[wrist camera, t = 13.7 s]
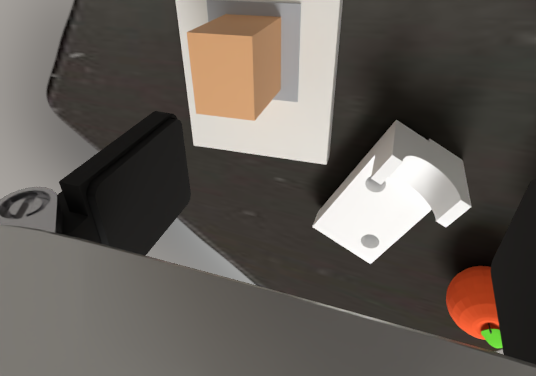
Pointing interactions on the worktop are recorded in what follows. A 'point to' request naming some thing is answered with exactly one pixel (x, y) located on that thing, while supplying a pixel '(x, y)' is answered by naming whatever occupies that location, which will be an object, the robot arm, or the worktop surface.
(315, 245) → the worktop surface
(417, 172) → the bracket
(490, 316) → the clementine
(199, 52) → the block
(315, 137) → the plate
